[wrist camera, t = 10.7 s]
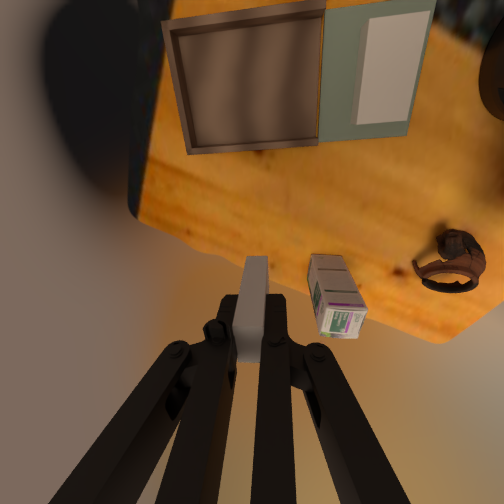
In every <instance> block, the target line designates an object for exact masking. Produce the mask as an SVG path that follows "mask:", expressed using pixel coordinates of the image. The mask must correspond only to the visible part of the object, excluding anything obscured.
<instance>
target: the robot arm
mask: <svg viewBox="0 0 504 504" xmlns="http://www.w3.org/2000/svg"><path fill="white" fill-rule="evenodd" d="M479 86H480V94H481V98H482V101H483V103H484V105H485V107H486V108H487V109H488V111H489V112H490V113H491V114H492V115H494V116H495V117H497V118H498V119H500V120H503V121H504V18H503V20H502V21H501V23H500V24H499V26H498V27H497V29H496V31H495V33H494V34H493V36H492V38H491V40H490V42H489V44H488V47H487V49H486V52H485V55H484V58H483V61H482V65H481V70H480V79H479ZM203 331H204V335H205V340H204V341H202V342H199V343H196V344H192V345H189V344H188V343H187V342H185V341H180V340H179V341H174V342H172V343H171V344H169V345H168V346H167V347H166V348H165V349H164V350H163V352H162V353H161V354H160V355H159V357H158V358H157V360H156V361H155V362H154V364H153V365H152V366H151V368H150V369H149V370H148V371H147V373H146V374H145V375H144V377H143V378H142V380H141V381H140V382H139V383H138V385H137V386H136V387H135V389H134V390H133V391H132V393H131V394H130V396H129V397H128V398H127V400H126V401H125V402H124V404H123V405H122V406H121V407H120V409H119V410H118V411H117V413H116V414H115V415H114V417H113V418H112V419H111V421H110V422H109V424H108V425H107V426H106V427H105V429H104V430H103V431H102V433H101V434H100V436H99V437H98V438H97V439H96V441H95V442H94V443H93V445H92V446H91V448H90V449H89V450H88V451H87V453H86V454H85V455H84V457H83V458H82V459H81V461H80V462H79V463H78V465H77V466H76V467H75V469H74V470H73V471H72V473H71V474H70V476H69V477H68V478H67V479H66V481H65V482H64V483H63V485H62V486H61V487H60V489H59V490H58V491H57V493H56V494H55V495H54V497H53V498H52V499H51V501H50V502H49V503H48V504H136V503H137V500H138V499H139V497H140V495H141V493H142V491H143V489H144V488H145V486H146V484H147V482H148V480H149V478H150V476H151V474H152V473H153V471H154V469H155V467H156V465H157V463H158V461H159V459H160V457H161V455H162V454H163V452H164V450H165V448H166V446H167V444H168V442H169V440H170V438H171V437H172V435H173V433H174V431H175V429H176V427H177V425H178V423H179V422H180V424H179V427H178V430H177V434H176V437H175V440H174V443H173V446H172V450H171V453H170V456H169V459H168V462H167V466H166V469H165V472H164V475H163V479H162V482H161V485H160V488H159V491H158V495H157V498H156V501H155V504H217V501H218V494H219V488H220V481H221V475H222V468H223V461H224V454H225V448H226V441H227V435H228V428H229V421H230V414H231V407H232V401H233V394H234V387H235V381H236V375H237V368H236V362H237V358H238V362H249V363H250V362H251V363H260V370H259V385H258V400H257V414H256V428H255V443H254V457H253V471H252V486H251V500H250V504H297V503H296V485H295V484H296V483H295V463H294V444H293V423H292V403H291V386H293V387H296V388H298V389H301V390H303V393H304V396H305V399H306V402H307V405H308V408H309V410H310V414H311V417H312V420H313V423H314V426H315V429H316V432H317V435H318V438H319V441H320V444H321V447H322V450H323V453H324V456H325V459H326V462H327V464H328V468H329V470H330V474H331V476H332V479H333V483H334V486H335V489H336V492H337V494H338V497H339V500H340V503H341V504H411V503H410V501H409V499H408V497H407V495H406V493H405V492H404V490H403V488H402V486H401V484H400V482H399V480H398V478H397V476H396V474H395V473H394V471H393V469H392V467H391V465H390V463H389V461H388V459H387V457H386V455H385V453H384V451H383V449H382V447H381V446H380V444H379V442H378V440H377V438H376V436H375V434H374V432H373V430H372V428H371V426H370V424H369V422H368V420H367V418H366V417H365V415H364V413H363V411H362V409H361V407H360V405H359V403H358V401H357V399H356V397H355V396H354V394H353V391H352V390H351V388H350V386H349V384H348V382H347V380H346V378H345V376H344V374H343V372H342V370H341V368H340V366H339V365H338V363H337V361H336V359H335V357H334V355H333V353H332V351H331V350H330V349H329V348H328V347H327V346H326V345H324V344H321V343H311V344H308V345H307V346H303V345H300V344H297V343H295V342H294V341H293V340H292V339H291V338H290V337H289V335H288V331H287V312H286V299H285V297H284V296H283V294H269V276H268V257H267V256H247V257H246V262H245V267H244V272H243V277H242V281H241V286H240V291H239V294H237V295H226V296H225V297H224V298H223V299H222V300H221V303H220V308H219V310H218V313H217V317H216V319H213V320H210V321H208V322H207V323H206V324H205V326H204V327H203ZM180 420H181V421H180Z"/></svg>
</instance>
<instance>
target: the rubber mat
mask: <svg viewBox="0 0 504 504" xmlns="http://www.w3.org/2000/svg"><path fill="white" fill-rule="evenodd" d="M436 1H437V0H392V1H385V2H378V3H371V4H363V5H356V6H349V7H342V8H334V9H327V10H325V11H324V30H323V49H322V67H321V86H320V105H319V123H318V142H331V141H344V140H357V139H371V138H384V137H397V136H407V132H408V127H409V123H410V118H411V114H412V109H413V105H414V100H415V96H416V91H417V86H418V82H419V77H420V73H421V68H422V64H423V59H424V55H425V50H426V46H427V41H428V37H429V32H430V28H431V23H432V19H433V14H434V10H435V5H436ZM423 11H430V15H429V20H428V24H427V29H426V34H425V38H424V43H423V48H422V52H421V57H420V62H419V66H418V71H417V76H416V80H415V85H414V90H413V94H412V99H411V104H410V108H409V113H408V118H407V121H395V122H383V123H371V124H359V125H355V124H350V121H351V112H352V103H353V94H354V85H355V76H356V67H357V58H358V49H359V41H360V32H361V27H362V26H363V25H364V24H365V23H366V22H367V21H368V20H369V19H370V18H377V17H385V16H392V15H400V14H408V13H415V12H423Z"/></svg>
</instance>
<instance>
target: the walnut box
mask: <svg viewBox="0 0 504 504" xmlns="http://www.w3.org/2000/svg"><path fill="white" fill-rule="evenodd" d="M325 9H326V0H306V1H299V2H292V3H285V4H278V5H271V6H264V7H257V8H250V9H243V10H236V11H229V12H222V13H215V14H208V15H201V16H194V17H187V18H180V19H174V20H167V21H161V26H162V31H163V36H164V41H165V46H166V51H167V56H168V61H169V66H170V71H171V76H172V81H173V86H174V91H175V96H176V101H177V106H178V111H179V116H180V121H181V126H182V131H183V136H184V141H185V146H186V151H187V155H196V154H209V153H223V152H236V151H250V150H263V149H277V148H290V147H304V146H317V145H318V138H316V137H315V136H316V116H317V96H318V75H319V55H320V35H321V17H322V15H323V13H324V11H325Z"/></svg>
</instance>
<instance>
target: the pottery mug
mask: <svg viewBox="0 0 504 504" xmlns="http://www.w3.org/2000/svg"><path fill="white" fill-rule="evenodd" d="M436 239H437V242H438V253H439V254H440V255H441V257H442V258H443V259H448V261H445V262H442V261H441V260H440V259H439V260H436V261H434V262H431V263H429V264H427V265H425V266H423V267H421V268H419V267H418V265H417V262H416V261H413V265H414V269H415V272H416V274H417V275H418V276H419V277H420V278H421V279H422V284H423V285H424V286H426V287H427V288H429V289H431V290H434V291H438V292H444V293H461V292H467V291H470V290H473V289H474V288H476V287H477V286H478V284H479V283H478V282H479V280H478V279H479V276H480V275H481V274H482V273H483V272H484V270H485V268H486V261H485V255H484V252H483V250H482V248H481V246H480V245H479V244H478V243H477V242H476V240H475V238H474V237H473V236H472V235H470V234H469V233H467V232H464V231H458V230H455V229H450V230H446V231H445V232H444V233H443V234H441V235H439V236H438V237H436ZM464 248H466V249H467V251H468V253H466V252H465V250H464ZM440 273H456V274H461V275H464V276H467V277H469V278H470V279H471V280H469V281H468V282H466V283H465V284H460V283H459V281H456V282H454V283H437V282H436V281H433V280H429V279H427V278H429V277H430V276H432V275H435V274H440Z"/></svg>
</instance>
